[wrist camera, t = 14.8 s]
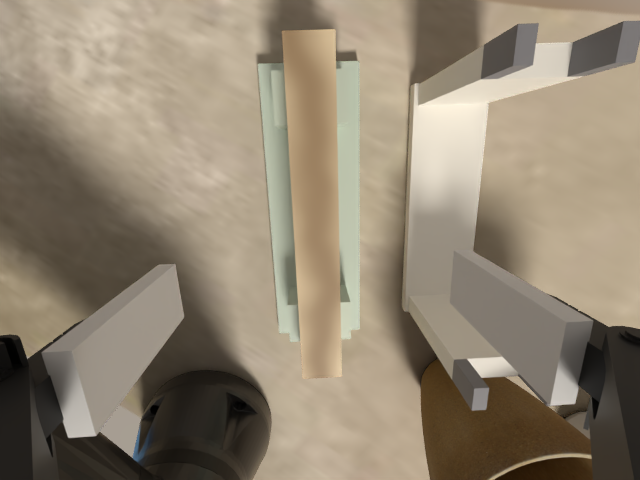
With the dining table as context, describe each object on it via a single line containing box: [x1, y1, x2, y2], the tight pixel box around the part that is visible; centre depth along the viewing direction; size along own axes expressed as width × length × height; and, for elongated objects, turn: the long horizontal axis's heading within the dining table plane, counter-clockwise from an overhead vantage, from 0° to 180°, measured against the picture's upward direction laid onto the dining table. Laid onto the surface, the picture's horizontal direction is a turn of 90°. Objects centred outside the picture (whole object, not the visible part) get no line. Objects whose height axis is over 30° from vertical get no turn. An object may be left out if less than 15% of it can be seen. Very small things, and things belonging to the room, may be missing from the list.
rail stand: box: [402, 21, 640, 411], centre depth 25 cm, size 7×23×15 cm, turn 2°
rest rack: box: [258, 61, 360, 342], centre depth 30 cm, size 9×27×5 cm, turn 2°
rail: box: [282, 29, 342, 379], centre depth 26 cm, size 4×27×4 cm, turn 2°
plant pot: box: [421, 358, 593, 480], centre depth 31 cm, size 15×15×16 cm
